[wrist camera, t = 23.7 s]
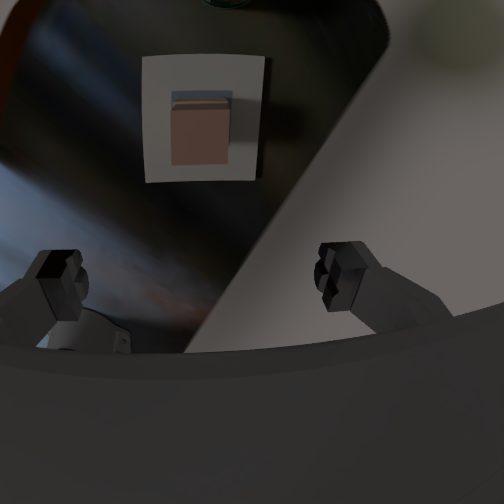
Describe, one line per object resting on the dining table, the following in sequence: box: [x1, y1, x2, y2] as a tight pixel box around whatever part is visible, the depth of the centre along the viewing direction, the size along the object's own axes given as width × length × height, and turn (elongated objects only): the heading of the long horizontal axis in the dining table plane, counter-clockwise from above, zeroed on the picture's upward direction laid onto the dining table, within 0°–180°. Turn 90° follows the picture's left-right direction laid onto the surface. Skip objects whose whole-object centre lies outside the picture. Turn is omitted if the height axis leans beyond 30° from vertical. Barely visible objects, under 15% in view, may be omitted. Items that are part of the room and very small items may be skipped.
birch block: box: [173, 97, 228, 107], centre depth 30 cm, size 6×6×5 cm
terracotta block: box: [170, 103, 230, 166], centre depth 26 cm, size 5×5×5 cm
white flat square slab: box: [142, 54, 265, 183], centre depth 33 cm, size 16×14×1 cm
